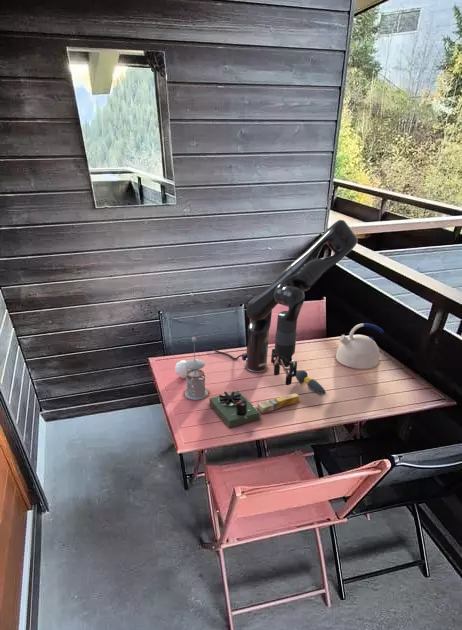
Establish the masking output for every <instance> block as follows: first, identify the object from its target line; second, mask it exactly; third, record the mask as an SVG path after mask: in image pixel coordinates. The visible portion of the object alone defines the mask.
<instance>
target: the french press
mask: <svg viewBox="0 0 462 630" xmlns="http://www.w3.org/2000/svg"><path fill="white" fill-rule="evenodd" d="M196 341H197V338H196V337H192V338H191V342H196ZM195 345H196V344H193V355H194V356H193V357H194V358H193V359H189V360H186V361H187V362H186V363H185V366H186V367H187V373H186V374H187V375H186V378H185V380H186V381H185V383H186V384H185V385H186V390H185V392H184V397H185V398H187V399H189V400H193V401H199V400H203V399H205V398H207V397H208V394H209V392H208V391H207V390H206V375H205V371H204V370H202V369H203V368H204V367H205V366H206V362H204V360H201V359H198V358H196V348H195V347H196V346H195ZM188 368H189V369H192V370H189V371H188Z"/></svg>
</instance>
